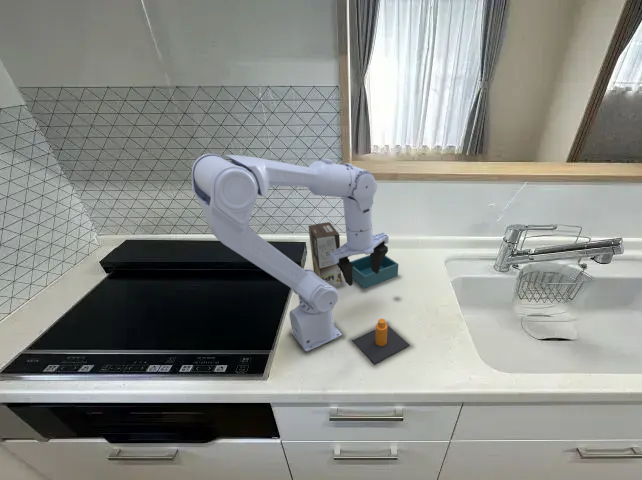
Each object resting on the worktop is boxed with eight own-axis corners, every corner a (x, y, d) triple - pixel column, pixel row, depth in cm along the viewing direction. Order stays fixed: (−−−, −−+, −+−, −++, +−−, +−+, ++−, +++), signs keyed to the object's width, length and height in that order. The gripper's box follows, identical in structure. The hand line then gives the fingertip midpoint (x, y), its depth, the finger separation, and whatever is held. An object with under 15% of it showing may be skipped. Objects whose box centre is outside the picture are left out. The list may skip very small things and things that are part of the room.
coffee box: (342, 285, 92) (340, 234, 83) (321, 290, 91) (315, 238, 81) (333, 270, 99) (330, 221, 89) (313, 274, 97) (307, 224, 88)
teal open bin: (364, 290, 91) (364, 276, 88) (347, 275, 97) (346, 262, 94) (397, 277, 96) (398, 264, 94) (379, 264, 102) (379, 251, 100)
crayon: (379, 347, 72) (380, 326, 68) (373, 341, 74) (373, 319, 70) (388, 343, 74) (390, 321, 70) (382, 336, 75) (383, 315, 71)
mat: (374, 364, 69) (374, 363, 69) (351, 340, 75) (351, 339, 74) (409, 345, 74) (409, 344, 73) (385, 324, 79) (385, 323, 79)
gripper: (339, 243, 63) (345, 297, 72) (397, 222, 69) (396, 274, 78) (322, 230, 67) (330, 282, 76) (377, 211, 74) (379, 261, 82)
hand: (362, 277), depth 77 cm, fingers open, 7 cm apart
